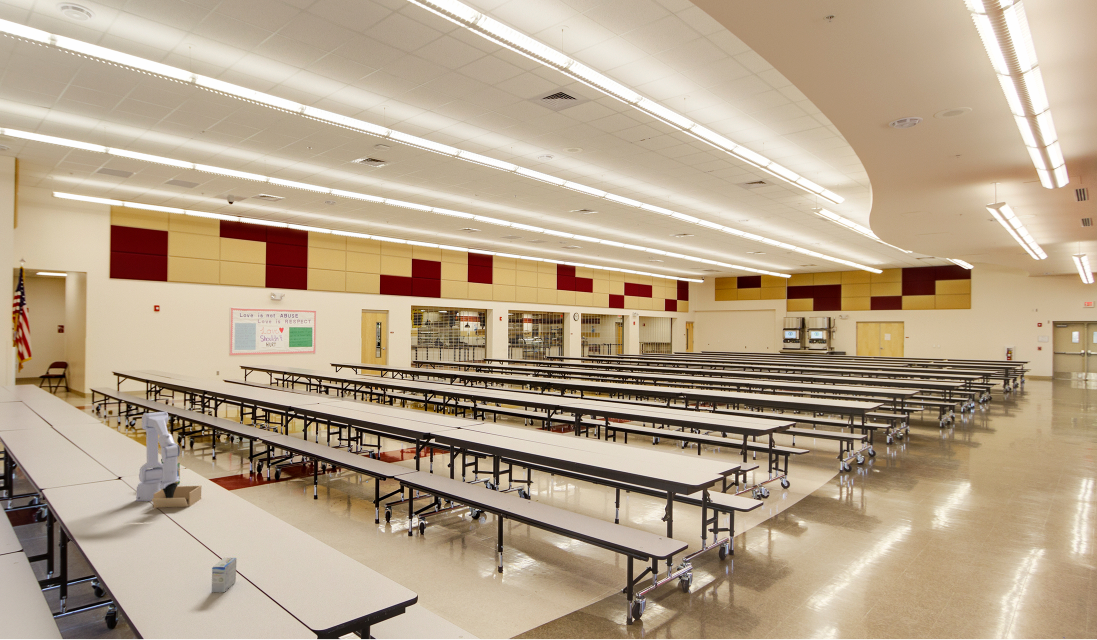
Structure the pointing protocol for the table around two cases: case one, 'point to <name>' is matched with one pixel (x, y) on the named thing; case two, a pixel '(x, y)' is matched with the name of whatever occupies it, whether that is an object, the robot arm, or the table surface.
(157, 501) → the flap
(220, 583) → the medicine box
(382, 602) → the table surface
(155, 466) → the robot arm
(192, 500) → the carton
